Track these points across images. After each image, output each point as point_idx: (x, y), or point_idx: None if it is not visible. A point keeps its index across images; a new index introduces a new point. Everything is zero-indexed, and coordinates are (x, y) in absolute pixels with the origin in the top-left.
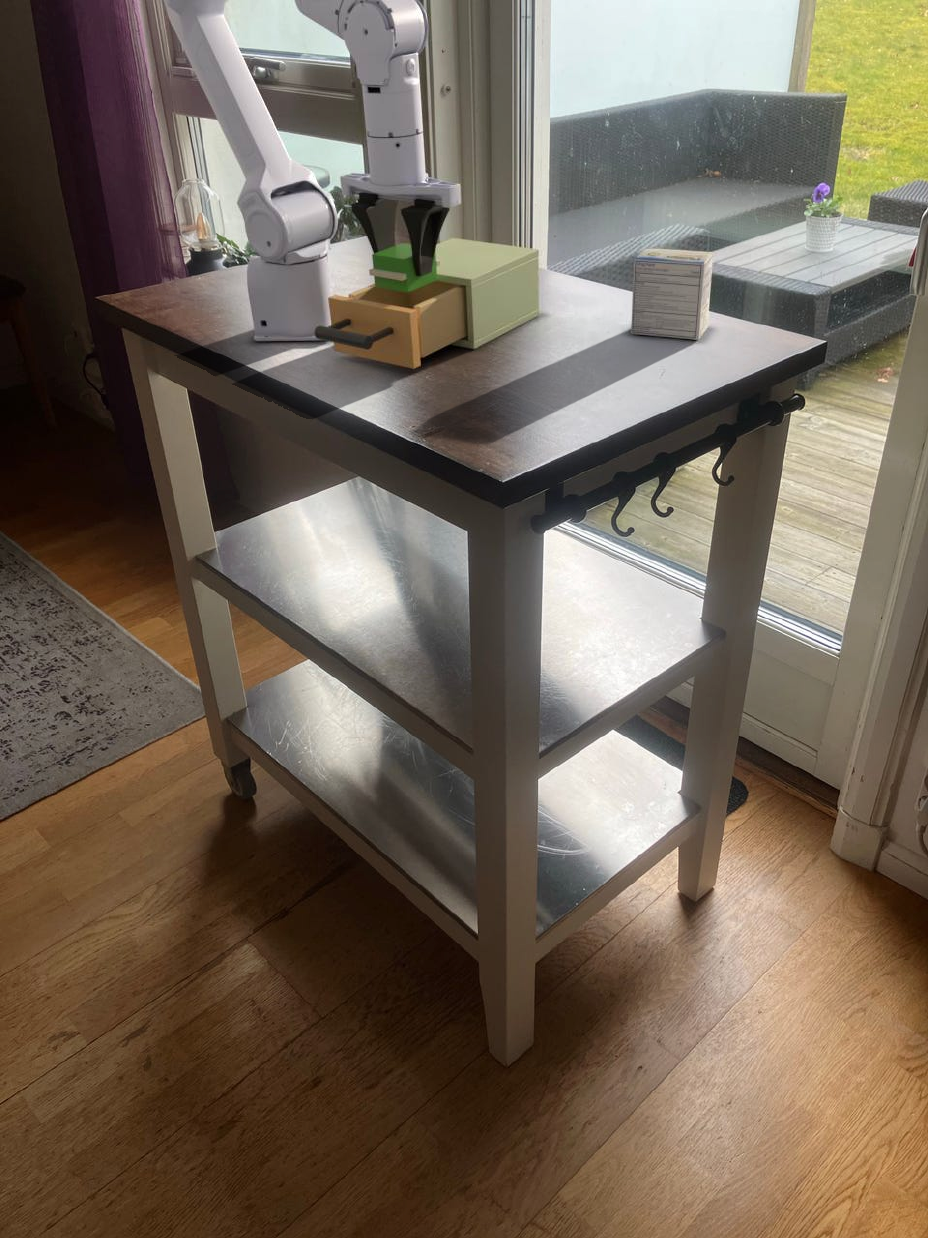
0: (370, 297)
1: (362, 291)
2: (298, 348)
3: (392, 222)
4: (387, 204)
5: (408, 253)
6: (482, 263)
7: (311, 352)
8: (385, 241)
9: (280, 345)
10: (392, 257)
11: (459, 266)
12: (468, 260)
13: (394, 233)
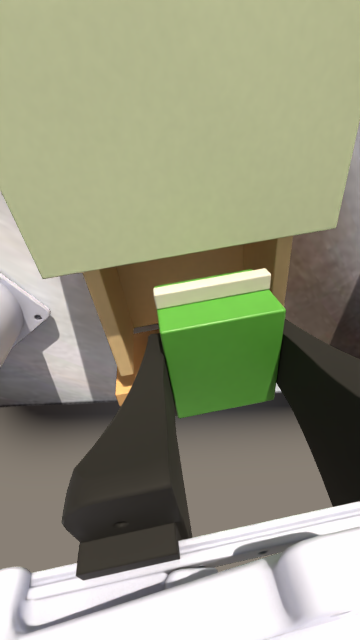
0: (123, 330)
1: (127, 356)
2: (46, 347)
3: (168, 413)
4: (178, 489)
5: (252, 377)
6: (297, 53)
7: (74, 345)
8: (169, 398)
9: (16, 356)
10: (237, 406)
11: (244, 147)
12: (227, 49)
13: (163, 379)
